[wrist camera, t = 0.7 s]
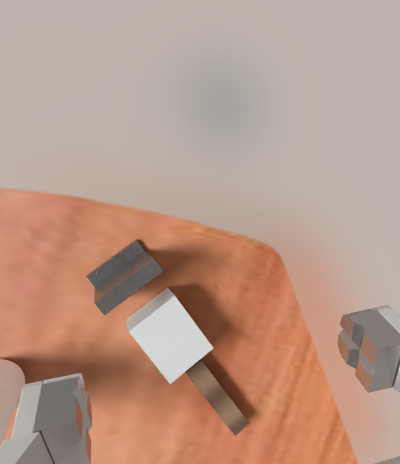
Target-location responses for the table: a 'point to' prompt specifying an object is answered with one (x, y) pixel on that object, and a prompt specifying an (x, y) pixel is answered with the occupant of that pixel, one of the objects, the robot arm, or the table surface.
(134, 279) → the wall
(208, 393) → the walnut bar
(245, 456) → the table surface
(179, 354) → the tunnel block
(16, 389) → the water bottle
